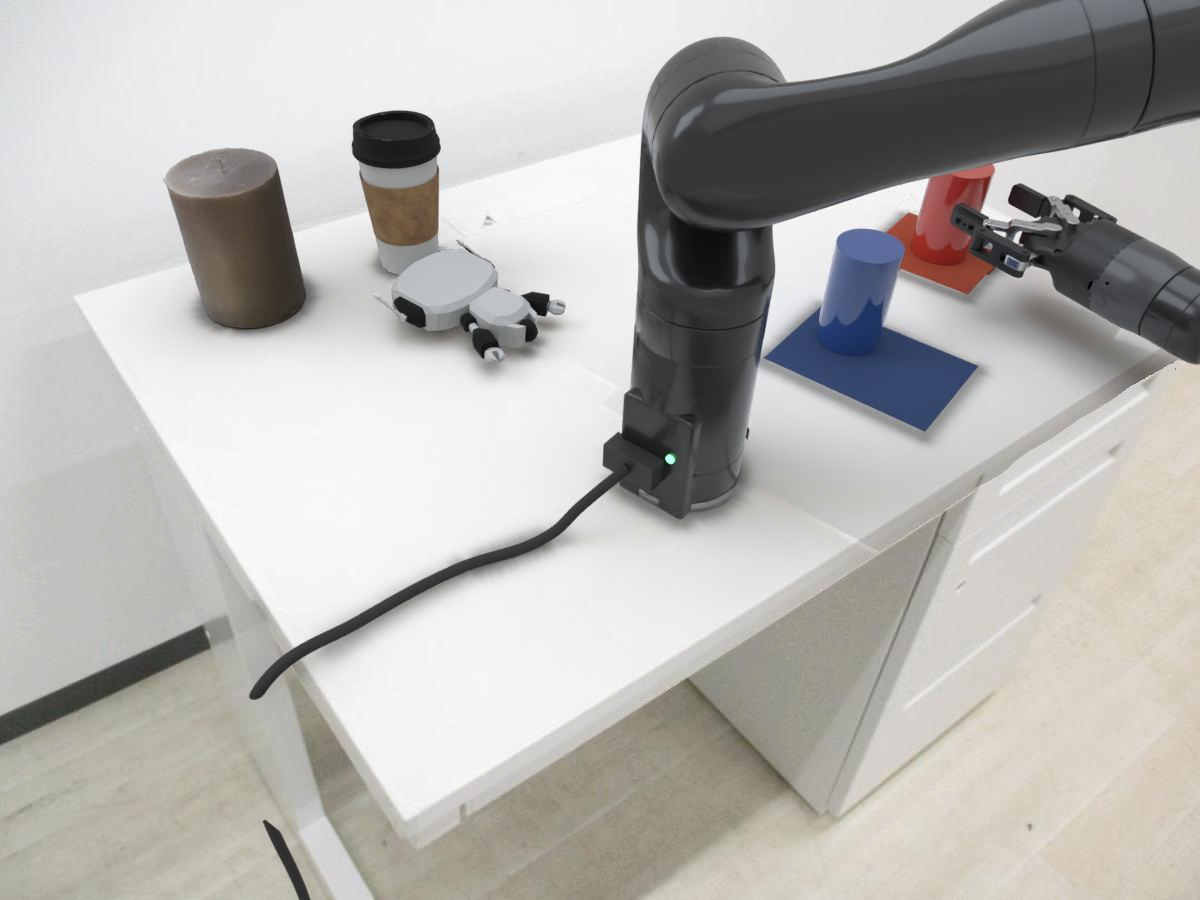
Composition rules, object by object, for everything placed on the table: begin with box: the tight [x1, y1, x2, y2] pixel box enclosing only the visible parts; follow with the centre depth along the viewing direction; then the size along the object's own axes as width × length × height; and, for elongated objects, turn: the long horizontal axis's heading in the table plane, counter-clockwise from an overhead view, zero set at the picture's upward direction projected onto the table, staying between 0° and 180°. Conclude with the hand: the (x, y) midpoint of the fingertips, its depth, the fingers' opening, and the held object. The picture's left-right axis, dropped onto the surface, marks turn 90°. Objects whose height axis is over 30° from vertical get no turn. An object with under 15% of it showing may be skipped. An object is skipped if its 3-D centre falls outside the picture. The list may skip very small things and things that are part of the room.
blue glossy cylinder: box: [816, 228, 905, 356], centre depth 87 cm, size 6×6×10 cm
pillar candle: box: [162, 147, 307, 329], centre depth 88 cm, size 10×10×15 cm
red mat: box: [885, 212, 996, 295], centre depth 103 cm, size 12×12×1 cm
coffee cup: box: [351, 109, 442, 276], centre depth 94 cm, size 8×8×15 cm
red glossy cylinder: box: [910, 164, 996, 265], centre depth 100 cm, size 6×6×10 cm
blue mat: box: [763, 306, 979, 433], centre depth 88 cm, size 12×16×1 cm
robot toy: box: [371, 239, 567, 365], centre depth 90 cm, size 12×4×15 cm
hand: (983, 202), depth 96 cm, fingers open, 8 cm apart
